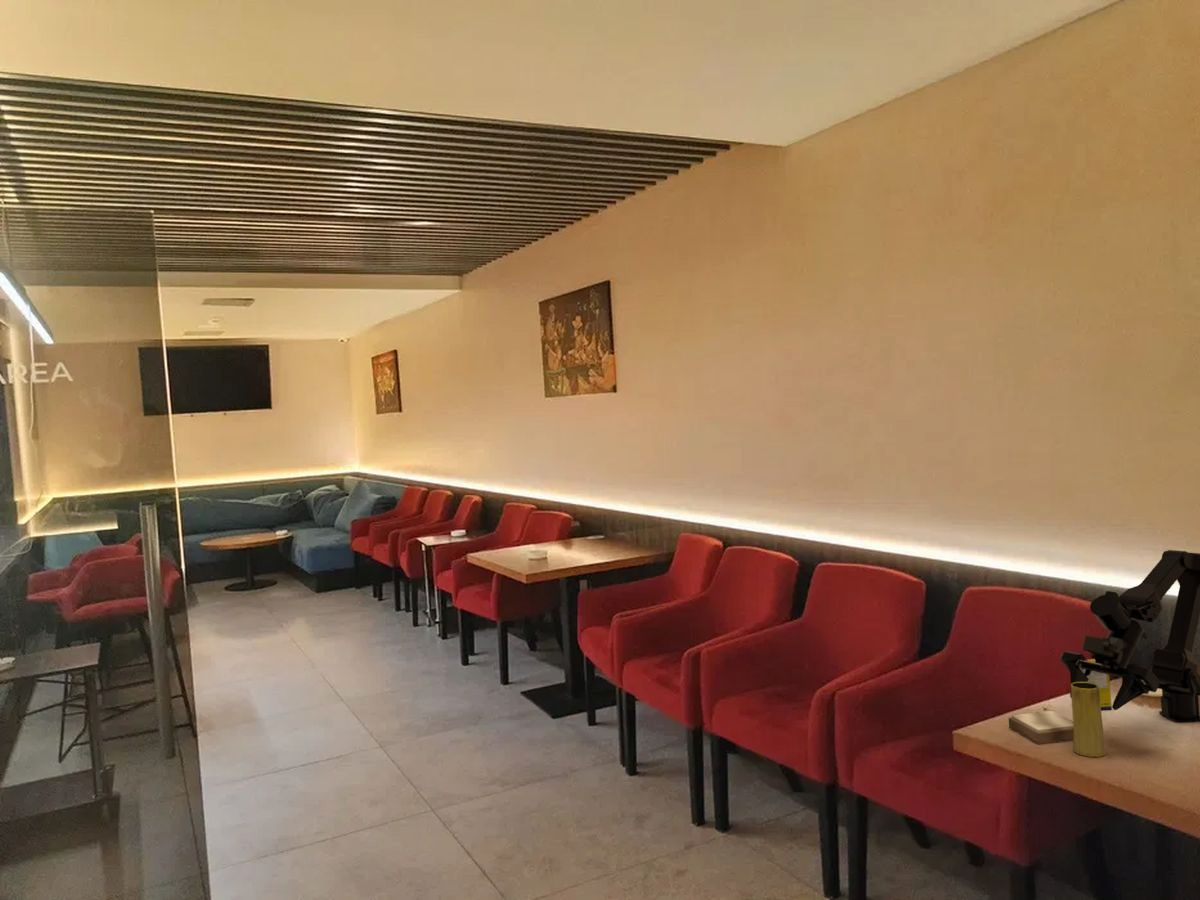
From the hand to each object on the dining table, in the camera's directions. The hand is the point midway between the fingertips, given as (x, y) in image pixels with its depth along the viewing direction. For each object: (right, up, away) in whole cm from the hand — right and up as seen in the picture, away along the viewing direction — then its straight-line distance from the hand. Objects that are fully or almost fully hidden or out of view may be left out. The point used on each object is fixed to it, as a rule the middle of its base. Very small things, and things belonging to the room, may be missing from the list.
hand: (1092, 703), depth 180 cm
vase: (-1, -10, -1) cm, 10 cm away
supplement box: (+15, -9, +26) cm, 31 cm away
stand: (-4, -10, +11) cm, 16 cm away
